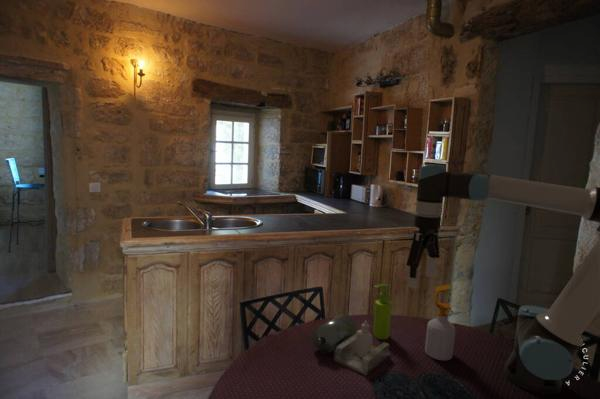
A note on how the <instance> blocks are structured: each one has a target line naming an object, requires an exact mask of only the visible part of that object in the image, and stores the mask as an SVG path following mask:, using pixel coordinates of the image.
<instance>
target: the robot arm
mask: <svg viewBox="0 0 600 399" xmlns="http://www.w3.org/2000/svg"><path fill="white" fill-rule="evenodd" d="M418 172H419V173H418V178H417V190H416V202H415V203H414V205H415V213H416V214H415V215H414V224H413V225H414V227H415V228H417V229H418V232H414V233H413V238H412V243H411V246H410V250H409V254H408V257H407V260H406V266H408V267H409V273H408V283H407V286H408V288H411V289H413V290H414V289H415V290H418V288H419V279H420V271H421V270H420V268H421V267H420V263H421V261H422V257H423V255H424V252H425V250H426V251H427V253H428V256H427V257H426V266H425V277H427V278H432V279H434V278H435V277H436V276H435V274H436V264H437V259H439V258H440V257H441V256H440V243H439V230H440V229H441V224H442V223H441V222H442V217H441V216H442V212H443V205H444V204H443V200H444V198H448V199H449V198H451V199H458V200H459V199H461V200H469V201H481V202H482V201H483V202H484V201H486V200H493V201H498V202H505V203H509V204H516V205H519V206H520V205H521V206H525V207H526V206H527V207H533V208H538V209H544V210H548V211H554V212H558V213H559V212H561V213H565V214H569V215H570V214H572V215H577V216H581V217H582V218H583V219H584V220H585V221H589V222H595V223H598V224H599V226H598V227H597V228H596V230H595V233H596V235H597V241H596V242H595V244H594V245H593V247H592V248H591V250H589V252H588V253H587V255H586V256H585V258H584V259H583V261H582V262H581V263H580V265H579V267H578V268H577V269H576V271H575V272H574V274H572V277H571V278H569V281H568V282H567V283H566V285H565V286H564V288H563V289H562V290H561V292H560V293H559V295H558V297H557V298H556V299H555V301H554V302H553V303H552V304H551V306H550V307H549V308H546V307H543V306H535V305H527V304H526V305H522V306H519V308H518V313H517V320H516V329H515V330H516V331H515V337H514V344H513V350H512V352H511V354H510V355H509V356H508V358H507V361H506V362H505V364H504V371H503V372H504V375H505V376H506V377H507V379H508V380H510V381H511V382H512V383H513V384H515V385H516V386H518V387H520V388H521V389H524V390H525V391H529V392H531V393H536V394H539V395H547V396H552V395H557V394H559V393H560V392H561V390H562V385H563V379H565V378H567V377H568V376H570V374H571V373H572V371H573V368H574V364H575V361H574V357H575V356H576V355H577V353H578V352H579V350H580V349H581V347H582V346H584V342H583V339H582V334H583V333H584V331H585V330H586V329H587V327H588V326H589V324H590V323H591V322H592V321H593V320H594V318H595V317H596V316H597V314H598V313H599V312H600V187H599V186H592V187H590V188H582V187H575V186H574V187H573V186H568V185H561V184H554V183H548V182H540V181H535V180H527V179H521V178H514V177H508V176H502V175H501V176H500V175H496V174H495V175H494V174H488V173H487V174H486V173H481V172H477V171H472V170H471V171H469V170H468V171H465V172H451V171H450V172H449V171H447V167H446V165H444V164H432V163H429V164H428V163H425V164H424V163H423V164H421V165H420V167H419V171H418Z"/></svg>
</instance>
